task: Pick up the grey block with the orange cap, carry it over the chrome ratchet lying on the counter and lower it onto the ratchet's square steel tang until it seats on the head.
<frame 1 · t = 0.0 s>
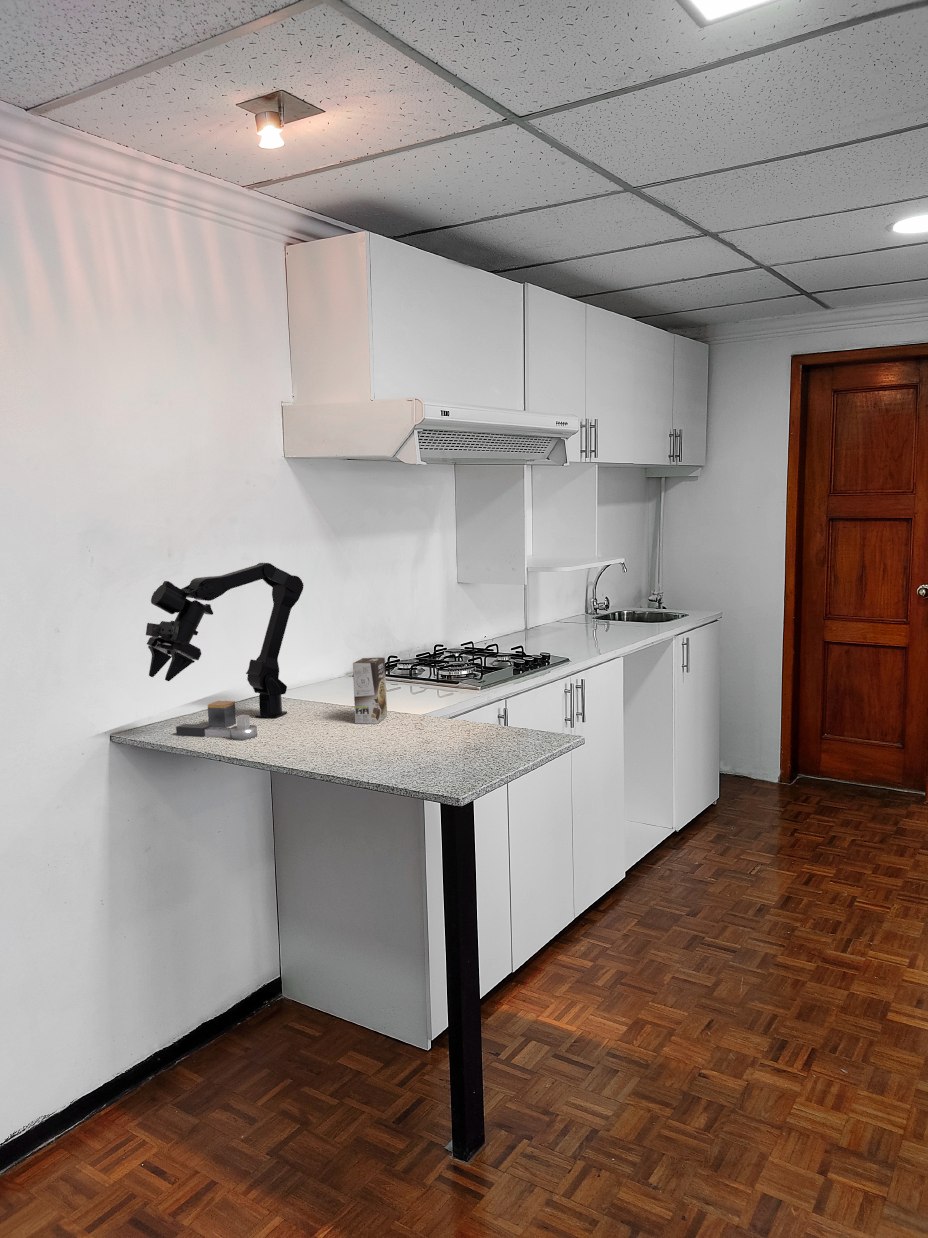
hand: (158, 678, 231), 15 cm above the countertop, tool tilted 35°, fingers open, 9 cm apart
ratchet: (216, 735, 232), on the countertop
coffee box: (371, 721, 244), on the countertop
grey block: (222, 725, 244), on the countertop
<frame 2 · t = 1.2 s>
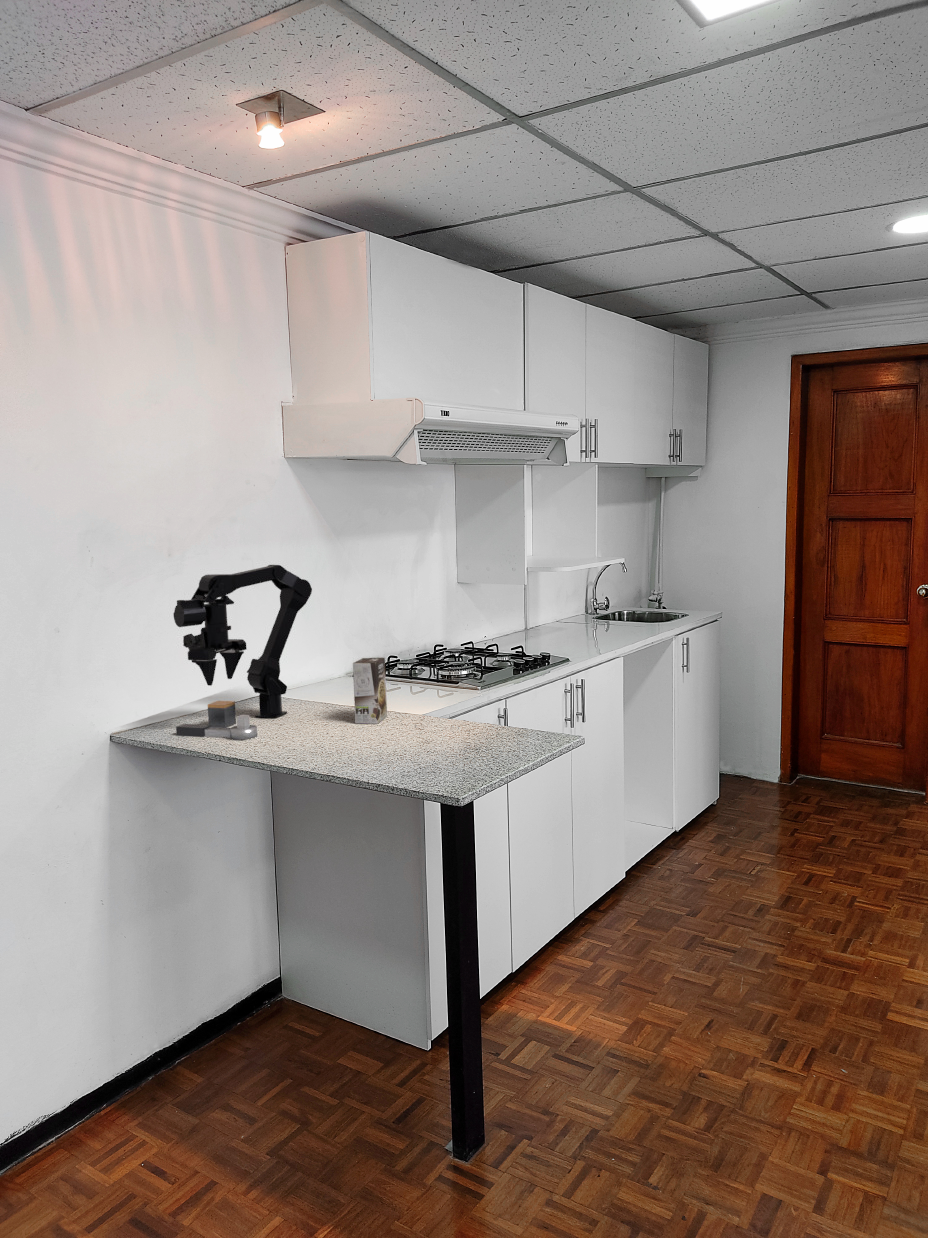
hand: (219, 682, 242), 12 cm above the countertop, tool pointing down, fingers open, 9 cm apart
nothing on the countertop moved.
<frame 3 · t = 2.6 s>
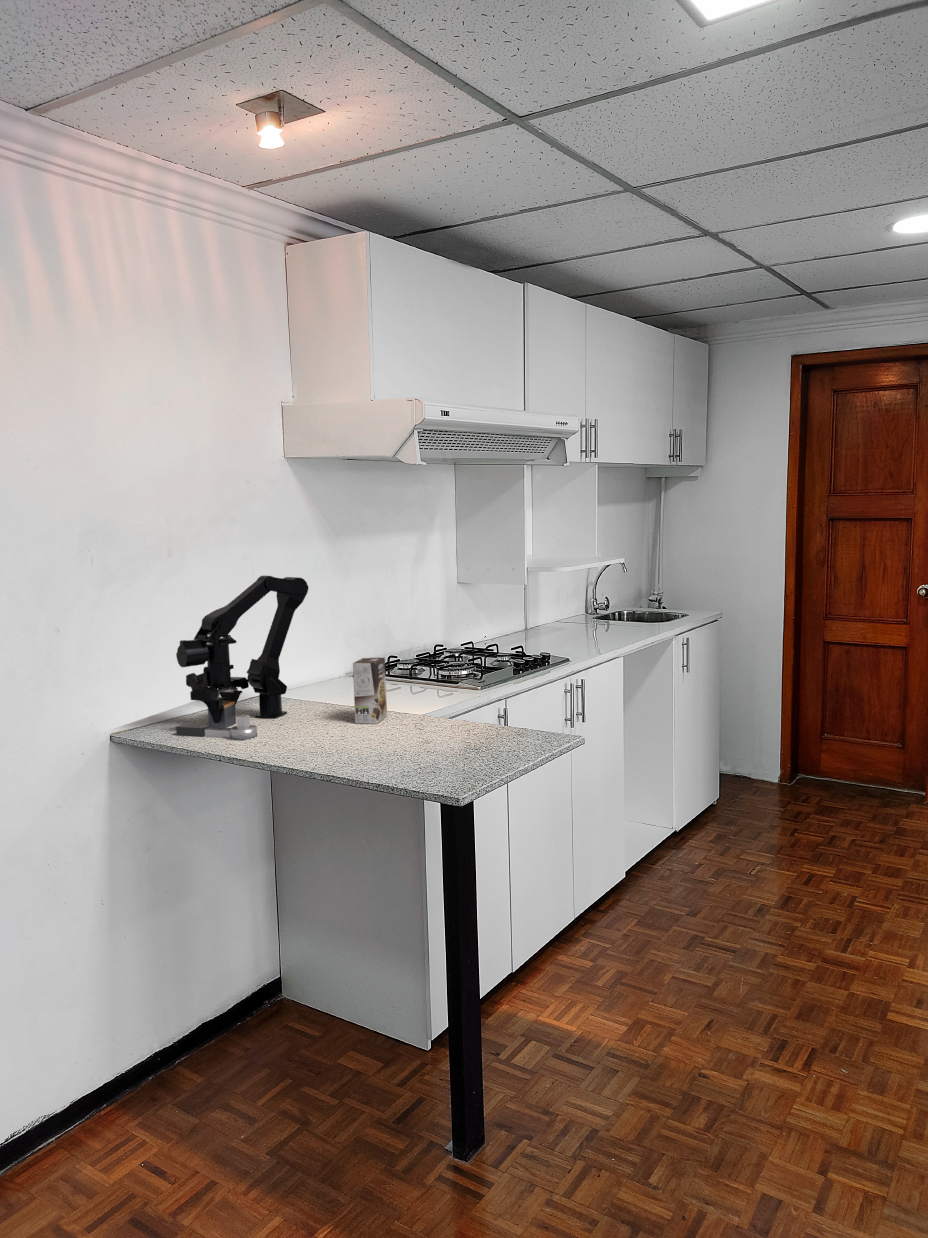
hand: (222, 720, 244), 1 cm above the countertop, tool pointing down, fingers closed on grey block, 5 cm apart
grey block: (222, 725, 244), on the countertop, touching gripper
everything else where it was.
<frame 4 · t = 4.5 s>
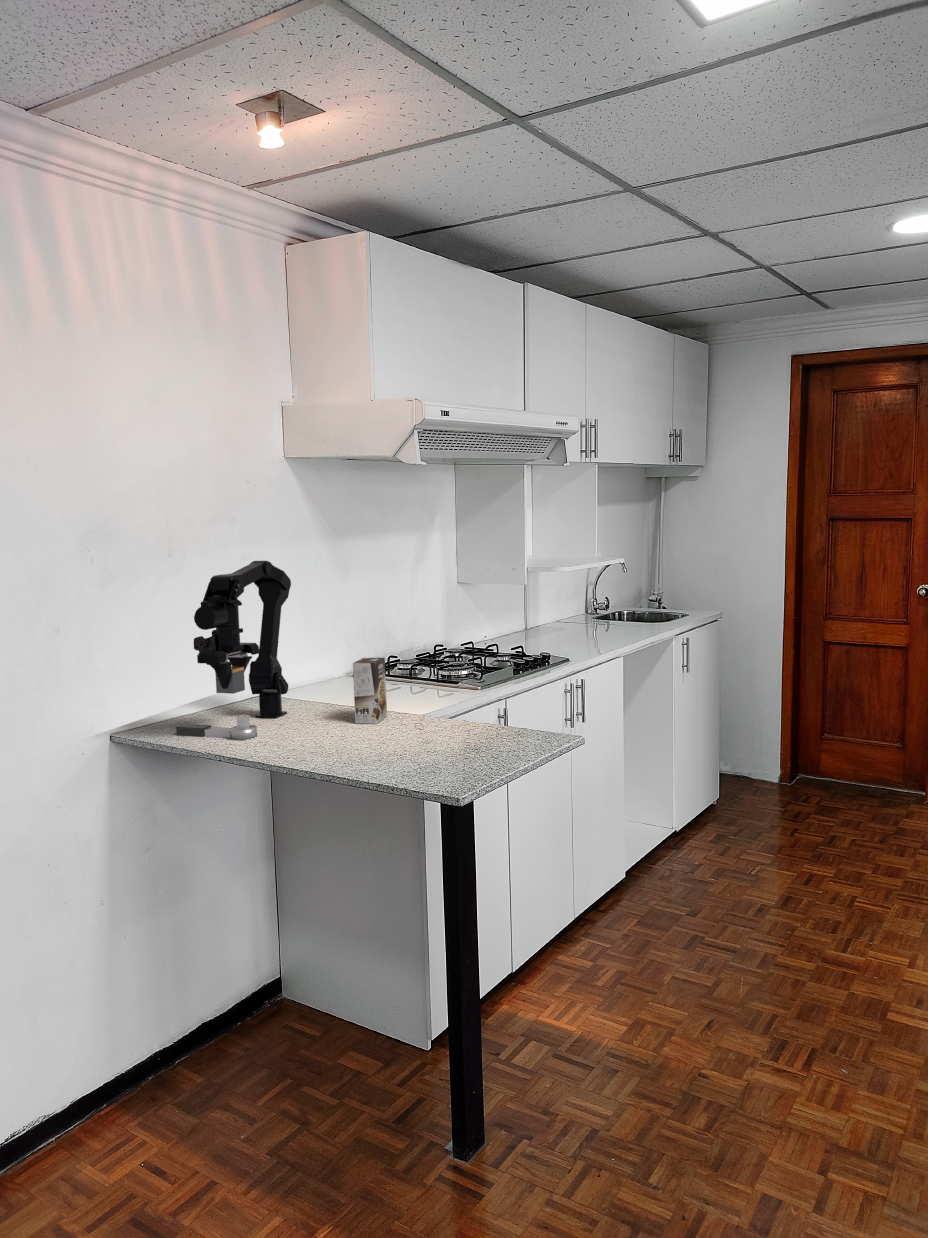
hand: (230, 686, 234), 12 cm above the countertop, tool pointing down, fingers closed on grey block, 5 cm apart
grey block: (230, 691, 234), point 11 cm above the countertop, touching gripper
everything else where it was.
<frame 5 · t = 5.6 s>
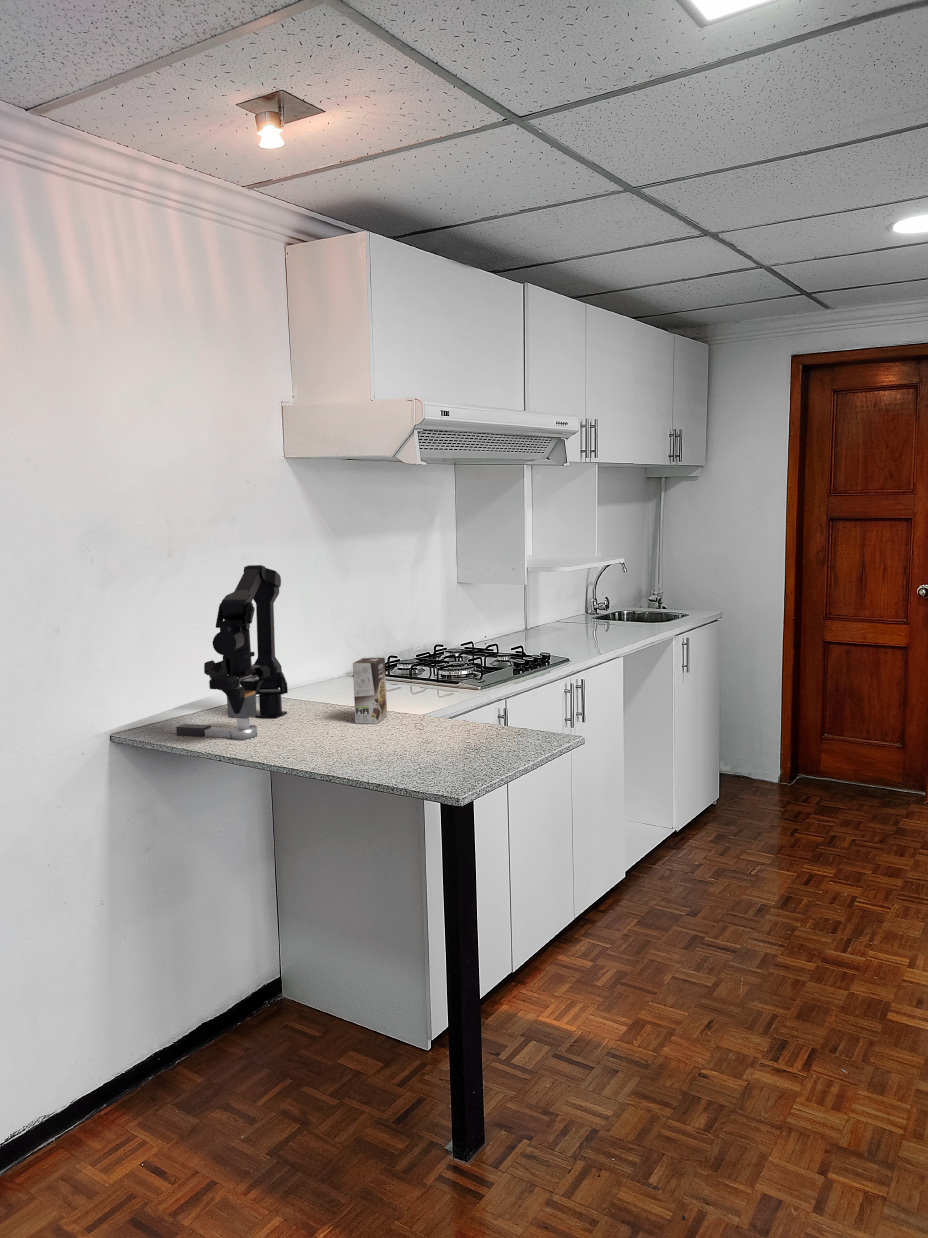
hand: (242, 711, 229), 6 cm above the countertop, tool pointing down, fingers closed on grey block, 5 cm apart
grey block: (242, 716, 229), point 5 cm above the countertop, touching gripper
everything else where it was.
when the fingers open (4 cm above the countertop, at t = 6.5 s): grey block stays where it is, resting on ratchet.
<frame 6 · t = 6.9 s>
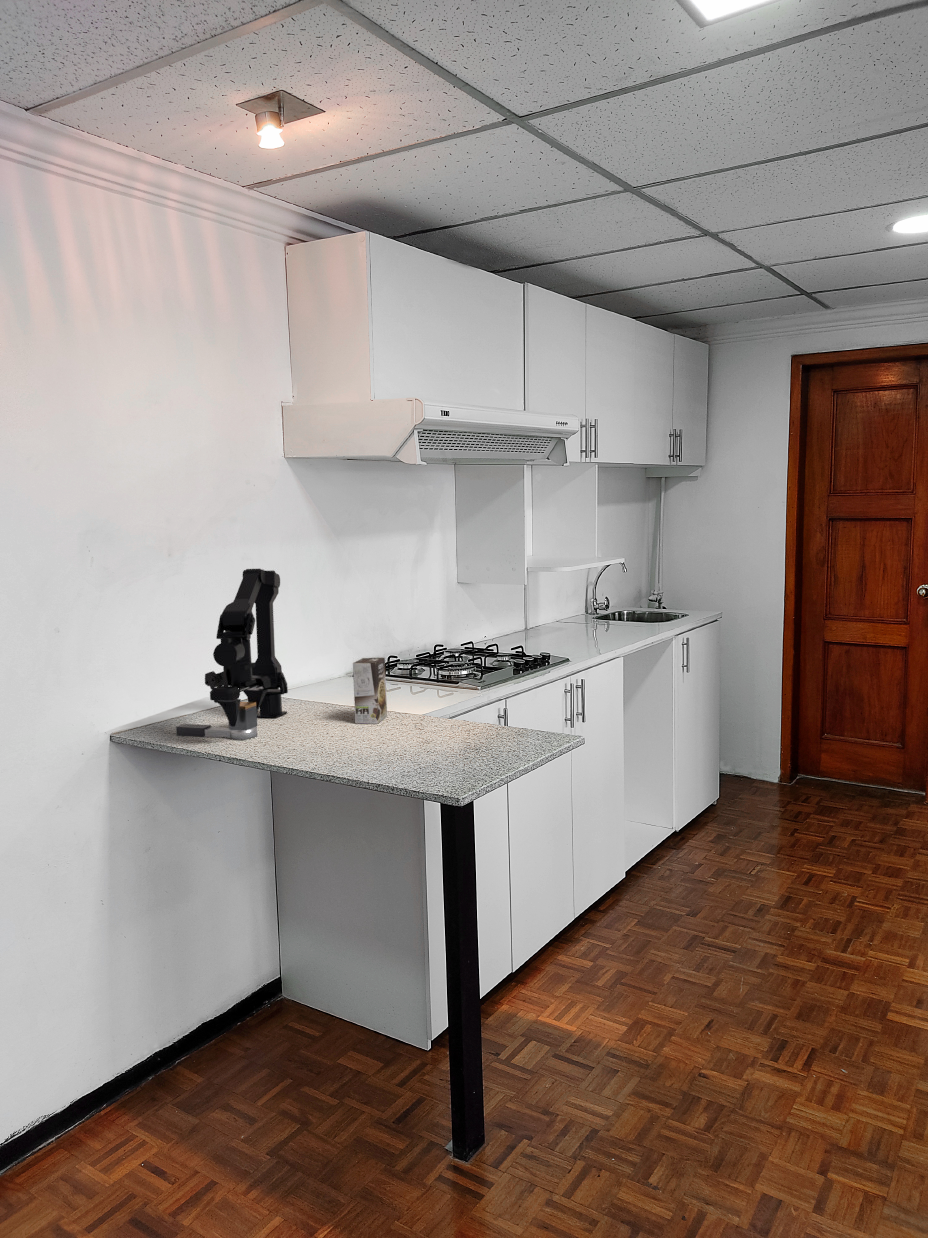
hand: (243, 722, 229), 4 cm above the countertop, tool pointing down, fingers open, 9 cm apart
grey block: (243, 727, 229), point 2 cm above the countertop, touching ratchet
everything else where it was.
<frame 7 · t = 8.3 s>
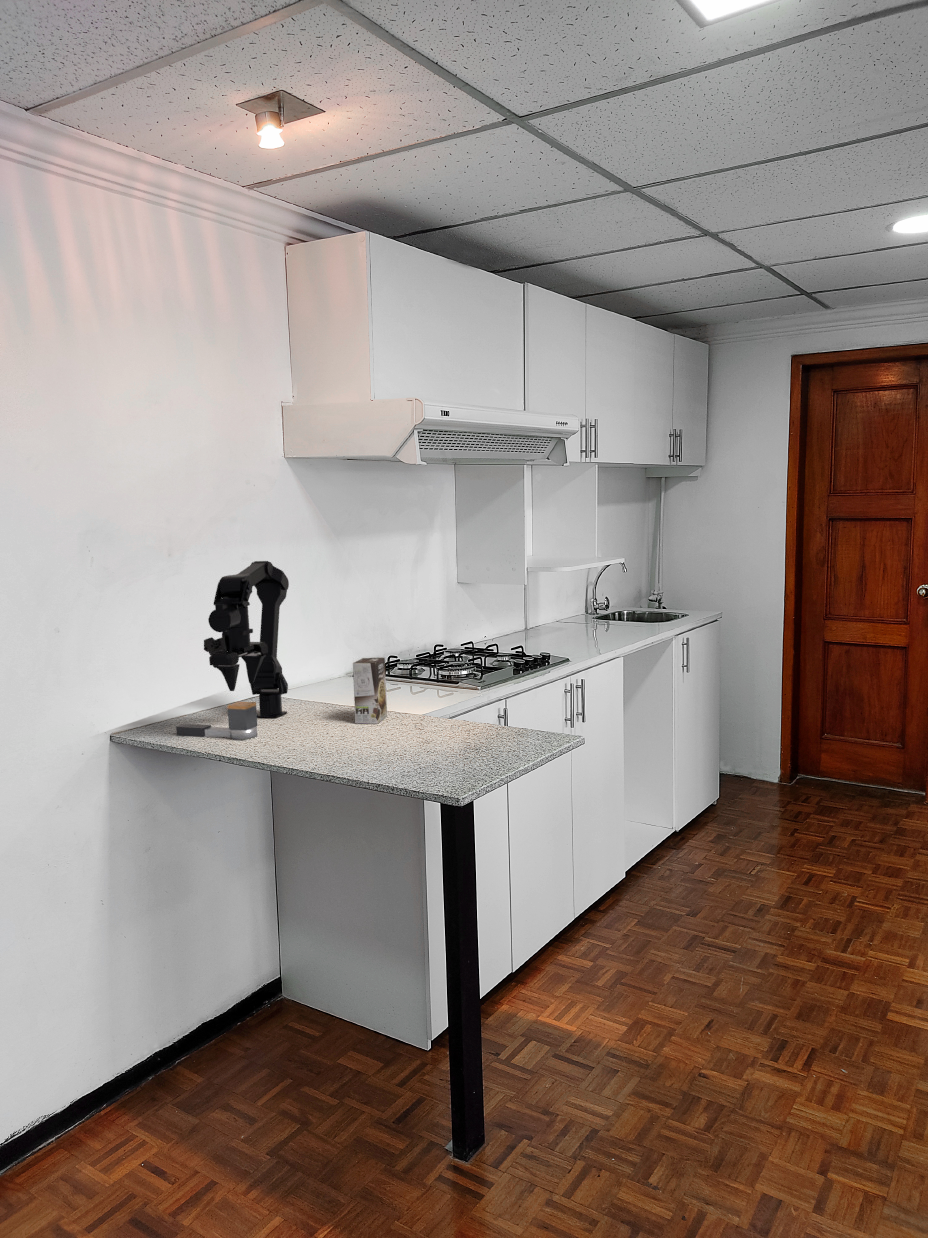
hand: (241, 687, 234), 12 cm above the countertop, tool pointing down, fingers open, 9 cm apart
nothing on the countertop moved.
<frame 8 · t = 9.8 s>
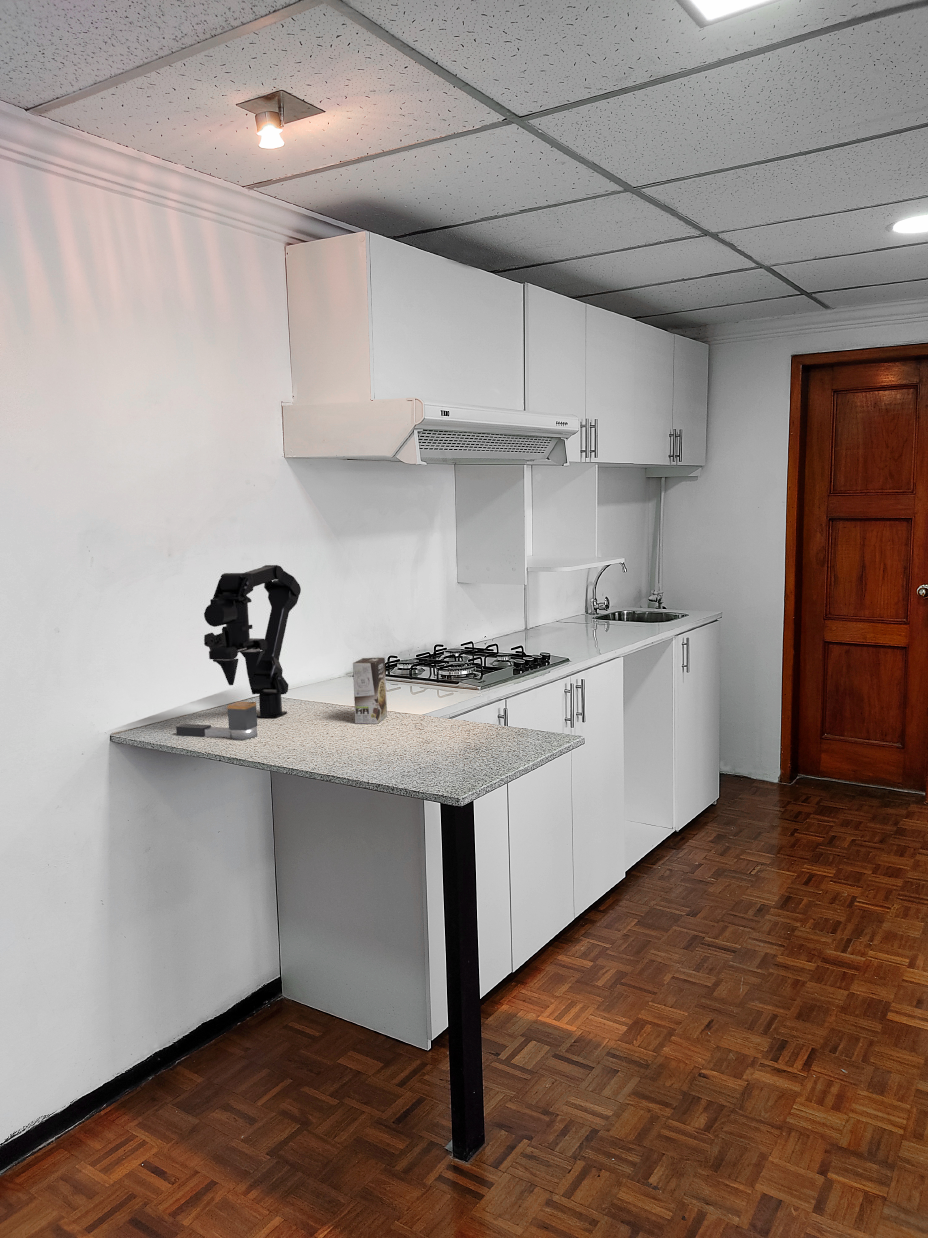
hand: (240, 681, 239), 12 cm above the countertop, tool pointing down, fingers open, 9 cm apart
nothing on the countertop moved.
at the end: grey block 0.1 cm from the target spot on the ratchet, point 2.4 cm above the ratchet's base; grey block tilted 0°; the gripper is holding nothing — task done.
